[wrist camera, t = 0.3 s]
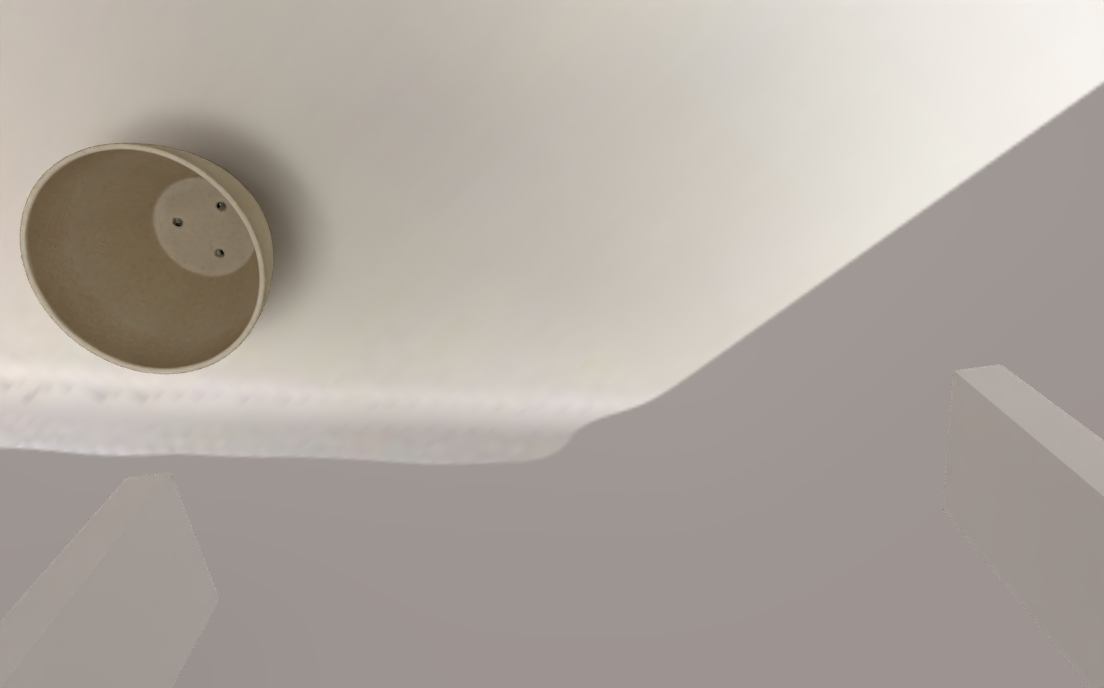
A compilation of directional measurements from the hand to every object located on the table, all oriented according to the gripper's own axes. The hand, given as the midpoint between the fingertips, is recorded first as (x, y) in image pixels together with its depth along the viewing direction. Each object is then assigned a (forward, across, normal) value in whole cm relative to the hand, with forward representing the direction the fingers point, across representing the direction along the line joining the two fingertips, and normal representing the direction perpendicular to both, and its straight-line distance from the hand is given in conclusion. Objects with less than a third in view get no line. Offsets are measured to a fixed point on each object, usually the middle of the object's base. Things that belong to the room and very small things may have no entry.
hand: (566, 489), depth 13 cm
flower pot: (+28, -17, 0) cm, 33 cm away
